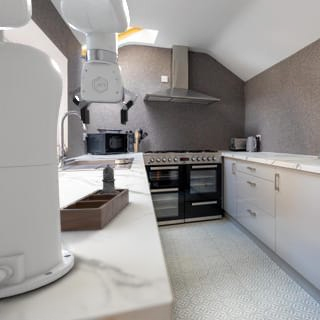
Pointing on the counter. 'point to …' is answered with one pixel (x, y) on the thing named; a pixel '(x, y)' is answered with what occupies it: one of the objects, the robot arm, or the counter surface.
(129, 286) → the counter surface
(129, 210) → the counter surface
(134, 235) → the counter surface
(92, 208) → the divided wooden tray
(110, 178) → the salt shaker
